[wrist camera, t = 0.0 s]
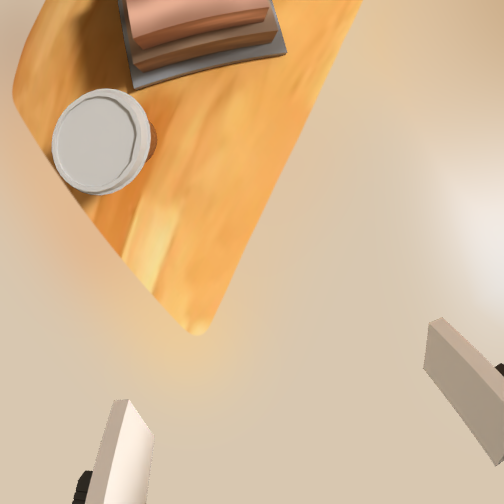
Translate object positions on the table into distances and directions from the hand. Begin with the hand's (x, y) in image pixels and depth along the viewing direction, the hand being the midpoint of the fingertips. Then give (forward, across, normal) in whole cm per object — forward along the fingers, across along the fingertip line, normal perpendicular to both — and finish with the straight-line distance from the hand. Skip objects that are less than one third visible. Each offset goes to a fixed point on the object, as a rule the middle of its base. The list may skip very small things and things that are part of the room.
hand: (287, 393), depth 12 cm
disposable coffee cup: (+28, -10, +13) cm, 33 cm away
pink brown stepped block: (+28, +1, +28) cm, 40 cm away
